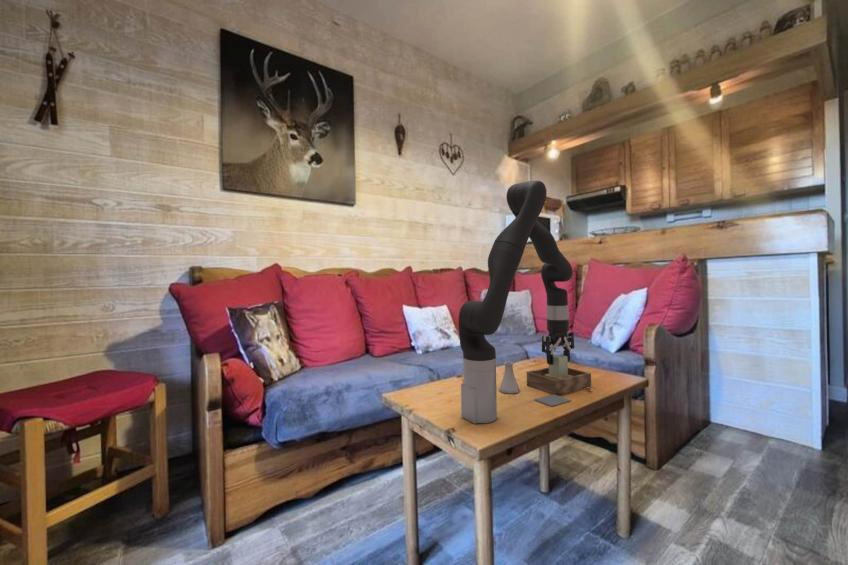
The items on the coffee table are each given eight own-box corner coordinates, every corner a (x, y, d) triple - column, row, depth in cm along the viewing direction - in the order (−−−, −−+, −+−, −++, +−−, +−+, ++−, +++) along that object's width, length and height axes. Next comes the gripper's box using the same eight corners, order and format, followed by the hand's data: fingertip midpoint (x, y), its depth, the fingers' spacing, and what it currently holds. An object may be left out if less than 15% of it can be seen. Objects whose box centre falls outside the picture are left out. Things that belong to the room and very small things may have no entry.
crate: (558, 396, 119) (558, 381, 118) (526, 385, 131) (526, 371, 131) (591, 387, 127) (590, 373, 127) (558, 378, 139) (558, 365, 139)
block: (559, 377, 126) (558, 357, 126) (549, 374, 130) (548, 355, 129) (567, 375, 128) (567, 356, 128) (557, 373, 132) (557, 354, 132)
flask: (518, 387, 128) (517, 360, 128) (521, 394, 121) (521, 365, 121) (497, 387, 129) (497, 360, 129) (499, 394, 122) (499, 365, 122)
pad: (551, 407, 109) (551, 405, 109) (534, 400, 115) (534, 399, 115) (571, 401, 114) (571, 400, 114) (553, 395, 120) (553, 394, 120)
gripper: (552, 320, 122) (553, 368, 122) (579, 317, 129) (580, 361, 129) (535, 318, 128) (536, 363, 129) (562, 315, 135) (563, 357, 136)
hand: (558, 362), depth 129 cm, fingers open, 8 cm apart
